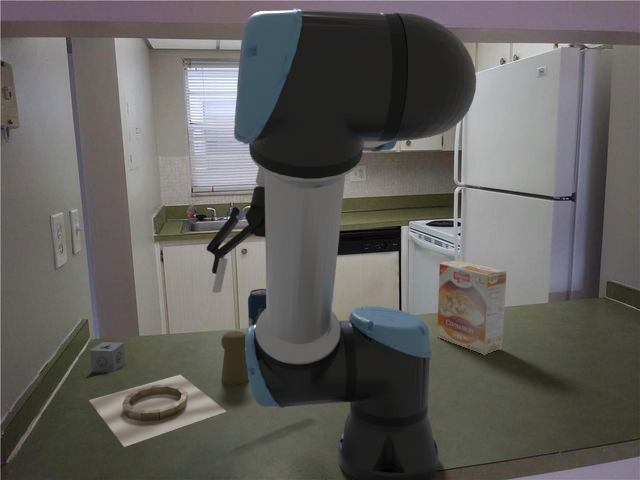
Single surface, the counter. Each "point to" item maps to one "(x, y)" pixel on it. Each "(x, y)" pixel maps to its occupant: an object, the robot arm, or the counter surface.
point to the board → (142, 430)
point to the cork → (234, 358)
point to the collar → (160, 413)
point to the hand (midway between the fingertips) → (250, 300)
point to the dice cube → (107, 357)
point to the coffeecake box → (471, 305)
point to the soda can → (256, 305)
